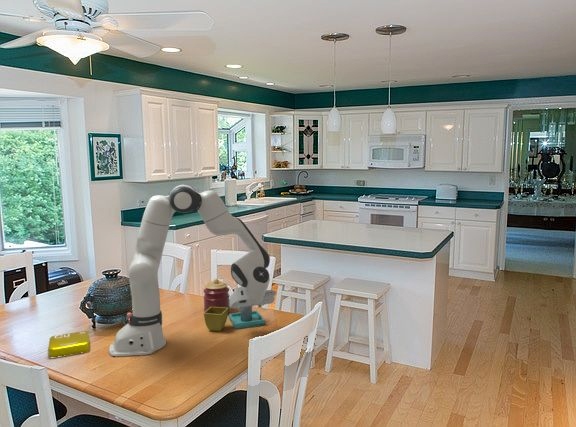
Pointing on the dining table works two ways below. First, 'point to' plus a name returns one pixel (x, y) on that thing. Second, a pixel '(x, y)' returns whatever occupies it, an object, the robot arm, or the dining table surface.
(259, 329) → the dining table surface
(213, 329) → the flower pot
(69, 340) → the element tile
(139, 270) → the robot arm
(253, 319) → the tray
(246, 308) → the dark grey cylinder
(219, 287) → the canister
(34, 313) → the dining table surface
